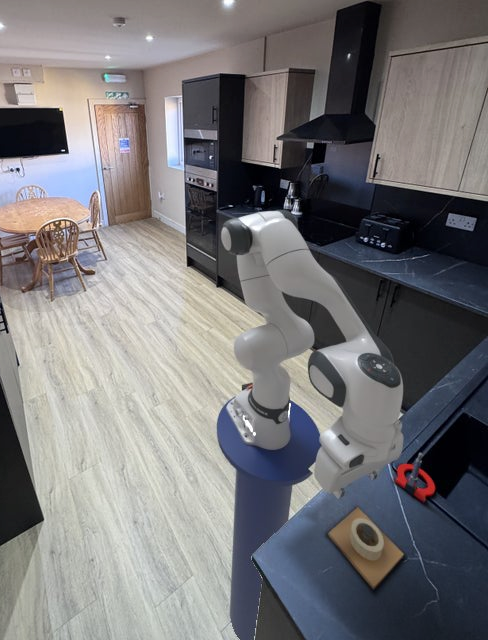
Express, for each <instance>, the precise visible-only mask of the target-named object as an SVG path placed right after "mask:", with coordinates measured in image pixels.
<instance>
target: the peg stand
mask: <svg viewBox="0 0 488 640" xmlns="http://www.w3.org/2000/svg"><path fill="white" fill-rule="evenodd" d="M358 518H363V519H367V520H368V521H370V522H372V523H373V524H374V525H375V526H376V527H377V528H378V529H379V531H380V532H381V534H382V536H383V540H384V546H383V550H382V554H381V557H380V558H379V559H378V560H374V561H371V560H367V559H366V558H363V557H362V556H360V555H359V554H358V553H357V551H356V550H355V549H354V548H353V546H352V544H351V541H350V530H351V526H352V522H353V521H354V520H355V519H358ZM362 531H363V532H362ZM362 531H360V532H357V535H358V537H359V538H360V539H361V541H362V542H363V543H365V544H366V545H368V546H376V544H375V542H374V540H373V539H372V537H374V530H373V529H372V527H371V526H369V525H367V524H364V525H363V526H362ZM327 536H328V537H329V538H330V540H331V541H332V542H333V543H334V545H335V546H336V547H337V549H339V550H340V552H341V553H342V554H343V555H344V557H346V559H347V560H348V561H349V562H350V564H351V565H352V566H353V567H354V568H355V570H356V571H357V572H358V573H359V575H360V576H361V577H362V578H363V579H364V581H365V582H366V583H367V584H368V585H369V586H370V588H371V589H372V590H375V589H376V588H377V587H378V586H379V585H380V583H382V582H383V580H384V579H385V578H386V577H387V575H389V573H390V572H392V570H393V569H394V568H395V566H397V565H398V564H399V562H400V561H401V560H402V559H403V558H404V552H403V551H402V550H401V549H400V548H398V546H397V545H396V544H395V543H394V542H393V541H392V540H391V539H390V538H389V537H388V536H387V535H386V534H385V533H384V532H383V531H382V530H381V529H380V528H379V527H378V526H377V525H376V523H374V522H373V521H372V519H370V518H369V517H368V515H366V513H365V512H364V511H362V509H361V508H360V507H359V506H357V507H356V508H355V509H354V510H352V511H351V512H350V513H349V514H348V515H347V516H346V517H344V518H343V519H342V520H341V521H340V522H339V523H337V525H335V526H334V527H333V528H332V529H331V530H330V531H329V532H328V534H327Z"/></svg>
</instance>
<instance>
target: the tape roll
mask: <svg viewBox="0 0 488 640" xmlns="http://www.w3.org/2000/svg"><path fill="white" fill-rule="evenodd" d="M372 522H373V521H372ZM372 522H370V521H368V520H367V519H363V518H358V519H355V520H354V521H353V522H352V526H351V530H350V541H351V544H352V546H353V548H354V549H355V550H356V551H357V553H358V554H359V555H360V556H362V557H363V558H366V559H367V560H371V561H374V560H378V559H379V558H380V557H381V554H382V550H383V546H384V540H383V536H382V534H381V532H380V531H379V529H380V528H379V527H378V526H377V525H376V524H375V523H374V522H373V523H374V524H375V525H376V526H377V527H378V528H379V529H378V528H377V527H376V526H375V525H374V524H373V523H372ZM364 524H367V525H369V526H371V527H372V529H373V530H374V537H372V539H373V540H374V542H375V544H376V546H368V545H366V544H365V543H363V542H362V541H361V539H360V538H359V537H358V535H357V532H360V531H362V526H363V525H364ZM362 532H363V531H362Z"/></svg>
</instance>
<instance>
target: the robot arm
mask: <svg viewBox="0 0 488 640" xmlns="http://www.w3.org/2000/svg"><path fill="white" fill-rule="evenodd" d="M298 225H299V224H298V221H297V219H296V216H295V215H294V213H292V212H291V211H289V210H284V209H275V210H267V211H258V212H254V213H251V214H247V215H244V216H239V217H233V218H230V219H228V220H226V221H225V222H224V223H223V225H222V226H221V229H220V238H221V242H222V247H223V248H224V250H225V251H226V252H227V253H228V254H230V255H232V256H236V264H237V273H238V278H239V281H240V286H241V290H242V291H241V292H242V294H243V299H244V302H245V305H246V306H247V308H248V309H250V310H251V311H253V312H255V313H260V314H261V315H262V317H263V318H264V320H265V324H262V325H259V326H255V327H252V328H249V329H248V330H245V331H243V332H242V333H240V334H239V335H237V336H236V337H235V339H234V341H233V354H234V357H235V359H236V361H237V362H238V364H239V365H240V366H241V367H242V368H244V369H245V370H248V371H250V372H251V375H252V382H248V383H244V384H241V391H240V392H238V393H237V394H236V395H235V396H236V397H235V396H234V397H235V398H234V397H233V398H234V399H233V400H231V401H230V402H229V403H228V405H227V407H226V410H227V412H228V414H229V416H230V418H231V419H232V421H233V423H234V425H235V427H236V429H237V430H238V432H239V434H240V436H241V438H242V439H243V441H244V443H245V444H247V445H256V446H259V447H261V448H264V449H268V450H277V449H280V448H283V447H284V446H286V445H287V444H288V442H289V440H290V436H291V433H290V428H289V423H290V417H289V411H290V400H291V397H290V390H291V382H292V381H291V376H290V374H289V372H288V371H287V369H286V368H285V367H284V366H283V365H280V364H281V363H283V362H284V361H287V360H290V359H292V358H295V357H298V356H301V355H302V354H304V353H306V352H308V350H310V349H311V348H312V347H313V346H314V344H315V332H314V329H313V328H312V327H313V326H311V325H310V322H308V321H307V320H306V319H304V318H302V317H300V316H298V314H296V313H295V312H294V311H293V310H292V309H291V308H290V306H289V305H288V303H287V301H286V300H285V297H284V294H286V295H288V296H291V297H294V298H300V299H307V300H311V301H313V302H317V303H318V304H319V305H321V306H323V307H324V308H325V309H326V310H327V311H328V312H329V314H330V315H331V317H332V319H333V320H334V322H335V323H336V325H337V327H338V328H339V330H340V331H341V333H342V335H343V336H344V339H345V341H344V342H341V343H338V344H335V345H334V344H333V345H330V346H326V347H322V348H320V349H317V350H314V351H312V352H311V353H310V355H309V358H308V361H307V376H308V379H309V381H310V384H311V386H312V387H313V388H314V389H315V391H317V392H318V393H319V395H321V396H323V398H325V399H326V400H328V401H329V402H331V403H332V404H333V405H335V406H336V407H338V408H342V414H341V416H339V417H338V419H337V420H336V421H335V422H334V423H333V424H332V425H331V426H330V427H328V428H327V429H325V430H324V431H322V433H320V438H319V442H320V443H321V445H322V446H321V448H320V449H319V451H318V453H317V457H316V462H315V463H314V470H313V471H314V472H313V475H314V478H315V480H316V481H317V483H318V485H319V486H320V487H321V488H322V490H323V491H324V492H325V493H327V494H328V495H331V494H333V495H334V497H336V499H338V500H339V499H341V498H342V497H344V496H345V493H346V489H344V488H345V487H346V486H348V485H351V484H352V483H355V482H356V481H358V480H360V479H362V478H363V477H368V478H369V479H370V480H371V481H374V480H376V479H378V478H379V476H380V473H381V471H382V470H383V469H384V467H385V466H387V465H389V464H391V463H392V462H394V461H397V460H398V459H399V458H400V457H401V455H402V453H403V447H404V439H405V438H404V434H403V433H402V429H403V423H402V421H401V420H399V418H400V414H401V411H402V410H401V409H402V405H403V398H404V383H403V381H404V380H403V378H402V374H401V372H400V369H398V367H397V366H396V365H395V362H394V358H393V355H392V353H391V351H390V349H389V348H388V347H387V345H385V343H383V341H382V340H381V339H380V338H379V337H378V336H377V335H376V333H375V332H374V331H373V330H372V328H371V326H370V325H369V323H368V322H367V321H366V320H365V318H364V317H363V315H362V314H361V311H360V310H359V309H358V307H357V306H356V304H355V303H354V301H353V300H352V298H351V297H350V296H349V294H348V293H347V291H346V289H345V288H344V287H343V285H342V284H341V283H340V281H339V280H338V279H337V278H336V277H335V276H334V275H332V274H330V273H329V272H327V271H326V270H325V269H324V268H323V267H322V266H321V265H320V264H319V262H317V260H316V259H315V256H314V255H313V254H312V252H311V249H310V248H309V246H308V245H307V242H306V240H305V238H304V237H303V236H302V233H301V232H300V231H299V226H298ZM283 293H284V294H283Z"/></svg>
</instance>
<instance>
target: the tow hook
mask: <svg viewBox="0 0 488 640" xmlns="http://www.w3.org/2000/svg"><path fill="white" fill-rule="evenodd" d="M423 456H424V454H423V453H422V452H419V453H418V455H417V458H415V462H414V464H411V463H401V464H400V465H398V467H397V470H396V474H397V477H396V478H395V481H394V482H395V483H396V484H397V485H399V487H401V488H403V489H404V490H405V491H406V492H407V493H409V494H411V495H412V496H414V497H415V498H417V499H418V500H419V501H421V502H422V503H425V502H426V499H427V498H428V497H432V496H433V495H434V494H435V492H436V485H435V483H434V480H433V479H432V477H430V475H428V473H427V472H426V471H424V470H423V469H421V466H422V463H423V461H422V460H423V459H422V458H423ZM407 471H411V474H409V477H408V479H407V478H406V475H405V472H407ZM418 475H419V476H421V478H422V479H424V480H425V483H426V485H427V487H426V488H420V487H418V485H417V483H418V477H419V476H418Z"/></svg>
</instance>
